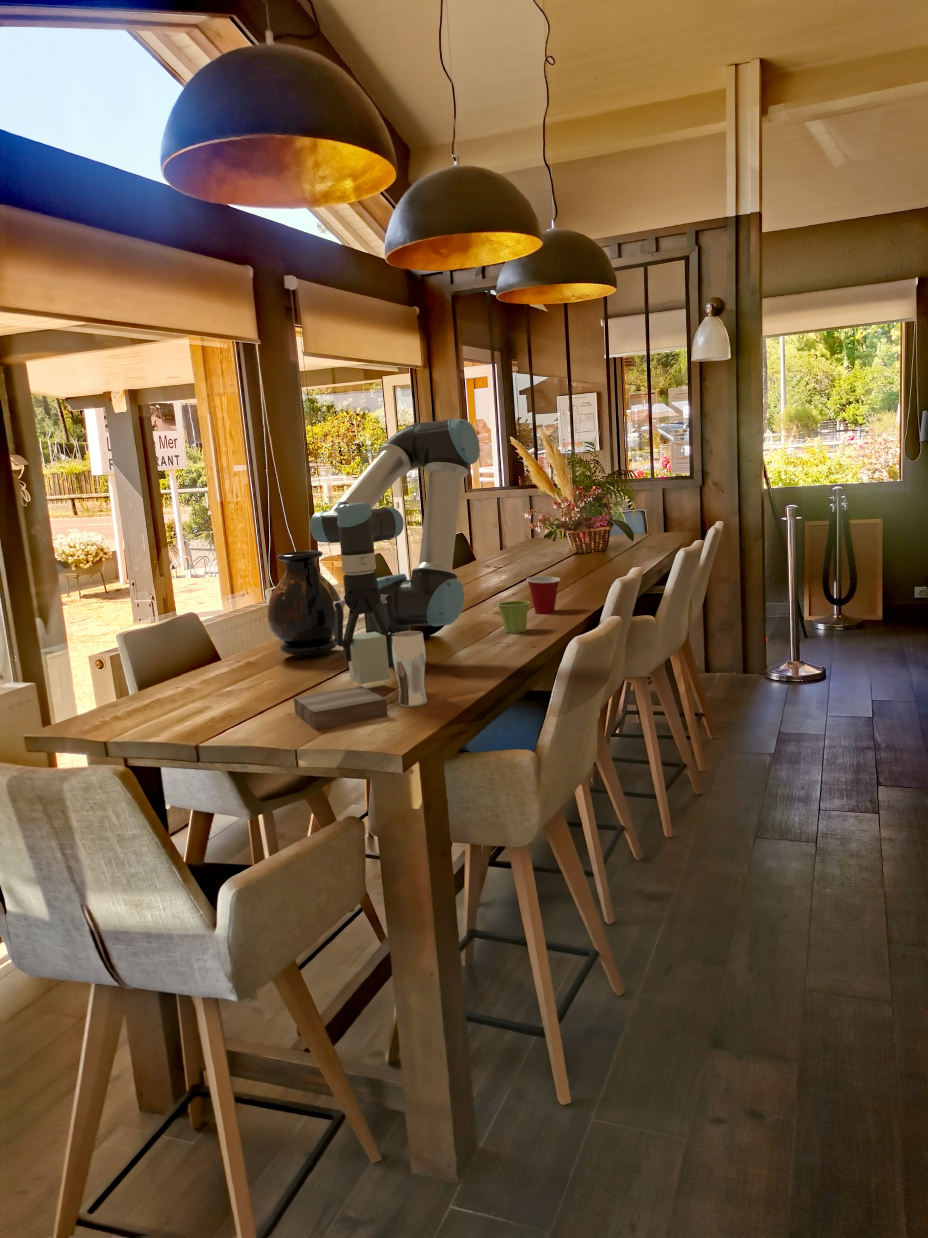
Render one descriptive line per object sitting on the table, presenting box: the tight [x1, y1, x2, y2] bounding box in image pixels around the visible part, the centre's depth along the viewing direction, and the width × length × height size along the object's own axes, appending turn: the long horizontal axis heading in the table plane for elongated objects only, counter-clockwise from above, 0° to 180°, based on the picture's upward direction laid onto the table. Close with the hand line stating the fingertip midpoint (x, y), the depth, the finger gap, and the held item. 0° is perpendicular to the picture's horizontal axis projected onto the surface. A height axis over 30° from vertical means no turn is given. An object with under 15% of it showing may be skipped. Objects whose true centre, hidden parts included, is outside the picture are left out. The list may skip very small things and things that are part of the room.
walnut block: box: [293, 685, 388, 731], centre depth 191 cm, size 15×15×4 cm
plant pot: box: [497, 600, 531, 634], centre depth 271 cm, size 9×9×9 cm
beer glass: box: [392, 630, 428, 708], centre depth 196 cm, size 7×7×15 cm
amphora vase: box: [267, 550, 345, 656], centre depth 265 cm, size 22×22×28 cm
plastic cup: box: [526, 575, 561, 615], centre depth 298 cm, size 11×11×12 cm
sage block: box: [349, 632, 391, 685], centre depth 212 cm, size 7×7×10 cm
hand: (369, 671), depth 213 cm, fingers closed on sage block, 7 cm apart
